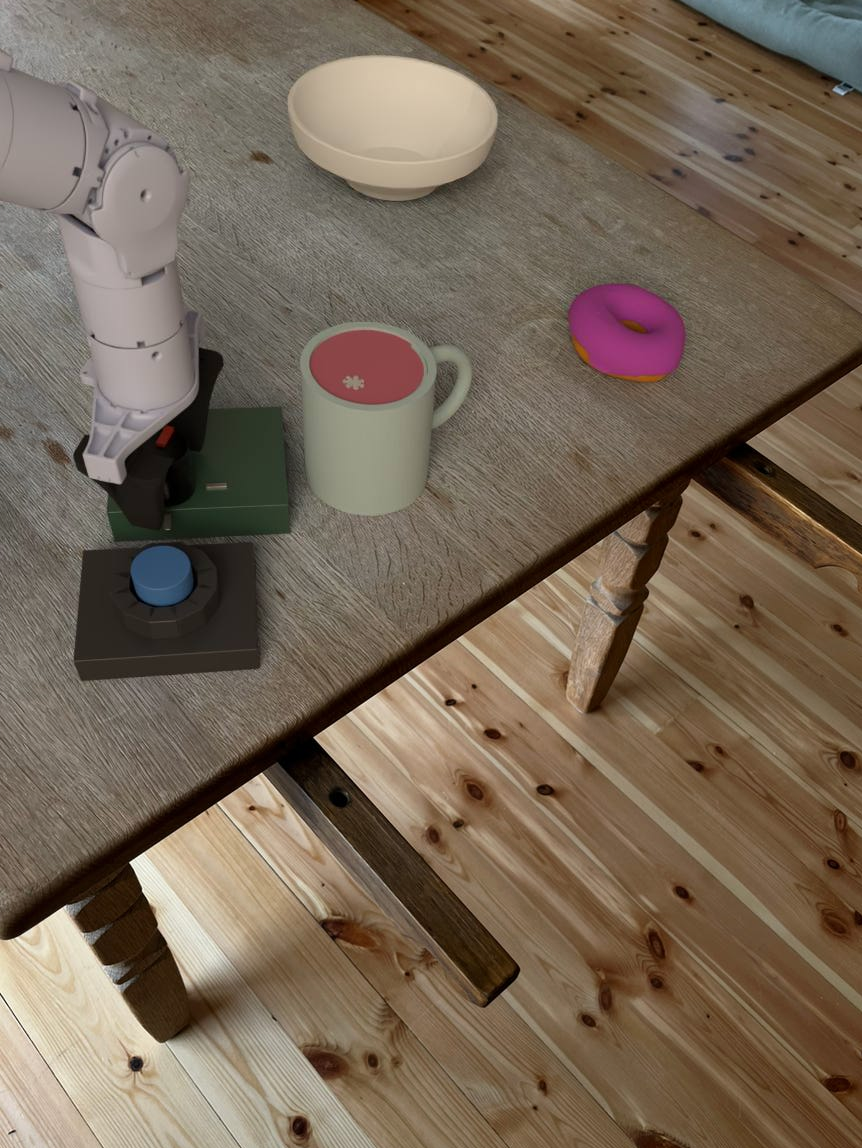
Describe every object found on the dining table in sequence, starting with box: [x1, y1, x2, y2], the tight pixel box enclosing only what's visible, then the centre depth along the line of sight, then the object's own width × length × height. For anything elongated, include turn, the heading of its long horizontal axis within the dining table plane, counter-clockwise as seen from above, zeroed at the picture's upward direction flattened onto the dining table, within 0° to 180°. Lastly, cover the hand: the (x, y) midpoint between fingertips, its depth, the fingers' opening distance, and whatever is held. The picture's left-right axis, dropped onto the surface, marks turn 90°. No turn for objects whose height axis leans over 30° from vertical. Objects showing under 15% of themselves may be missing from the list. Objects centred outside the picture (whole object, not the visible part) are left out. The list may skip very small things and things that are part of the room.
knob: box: [141, 426, 195, 507], centre depth 70 cm, size 4×4×4 cm
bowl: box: [286, 54, 499, 202], centre depth 100 cm, size 20×20×7 cm
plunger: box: [131, 545, 194, 606], centre depth 65 cm, size 4×4×2 cm
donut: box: [567, 282, 687, 383], centre depth 88 cm, size 10×10×5 cm
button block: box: [73, 541, 260, 682], centre depth 67 cm, size 11×9×4 cm
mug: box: [299, 321, 473, 517], centre depth 75 cm, size 14×9×10 cm
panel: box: [106, 406, 291, 543], centre depth 74 cm, size 12×12×3 cm
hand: (167, 484), depth 71 cm, fingers open, 7 cm apart
